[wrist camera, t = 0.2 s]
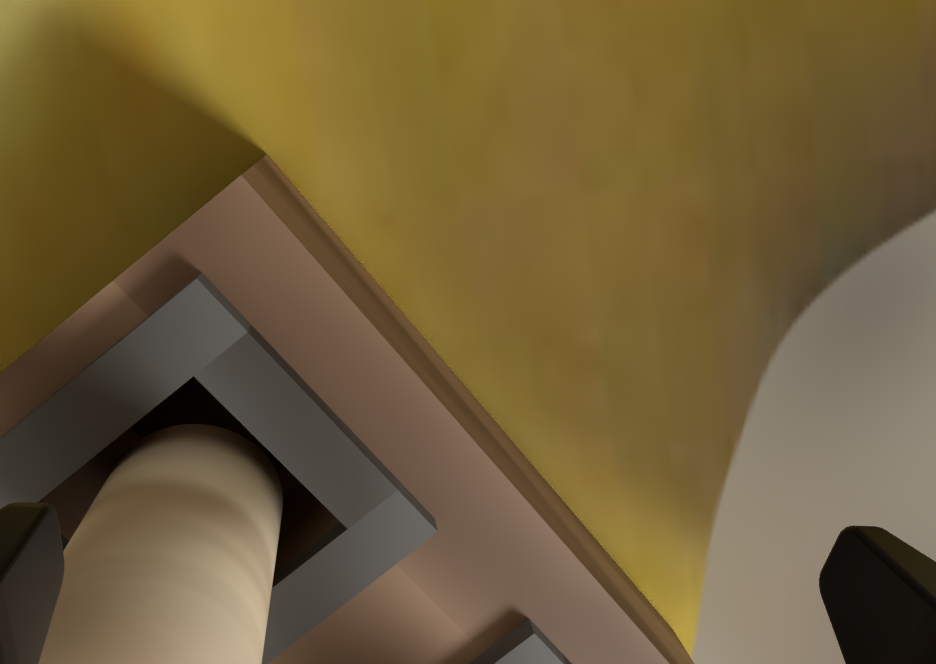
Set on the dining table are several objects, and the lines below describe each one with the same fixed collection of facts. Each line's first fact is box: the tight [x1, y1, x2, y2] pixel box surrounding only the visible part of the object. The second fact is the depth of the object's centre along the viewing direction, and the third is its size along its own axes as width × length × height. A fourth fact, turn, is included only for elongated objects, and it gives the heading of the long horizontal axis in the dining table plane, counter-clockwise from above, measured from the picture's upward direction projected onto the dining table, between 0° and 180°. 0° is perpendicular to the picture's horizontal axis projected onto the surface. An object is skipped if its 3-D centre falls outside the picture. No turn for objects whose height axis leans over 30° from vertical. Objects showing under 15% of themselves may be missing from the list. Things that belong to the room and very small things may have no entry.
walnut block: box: [0, 154, 694, 664], centre depth 22 cm, size 12×22×7 cm, turn 37°
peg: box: [39, 424, 283, 664], centre depth 15 cm, size 4×4×6 cm
